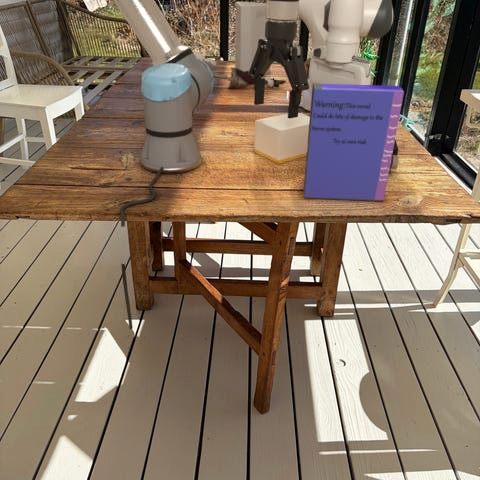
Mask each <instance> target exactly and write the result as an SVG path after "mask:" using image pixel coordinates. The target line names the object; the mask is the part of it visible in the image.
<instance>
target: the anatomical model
mask: <svg viewBox="0 0 480 480" xmlns="http://www.w3.org/2000/svg"><path fill="white" fill-rule="evenodd" d="M311 59H312V56H309V57H308V58H306V61H304V65H305V70H306V75H307V80H308V79H309V66H310V61H311Z"/></svg>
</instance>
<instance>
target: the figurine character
mask: <svg viewBox="0 0 480 480" xmlns="http://www.w3.org/2000/svg"><path fill="white" fill-rule="evenodd" d="M398 153H399V146H398V143H397V140H396V138H395V142H394V148H393V153H392V158H391V164H390V169H389V170H397V169H398V165H399V155H398ZM389 175H390V172H389V174H388V176H389Z"/></svg>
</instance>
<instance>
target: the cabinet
mask: <svg viewBox="0 0 480 480" xmlns="http://www.w3.org/2000/svg"><path fill="white" fill-rule="evenodd" d="M309 120H310V117H309V116H306V114H303V113H301V112H298V117H295V118H290V119H289V118H288V113H282V114H277V115H273V116H269V117H265V118H260V119H255V121H254V145H253V147H254V148H253V149H254V150H253V152H254V153H256V154H258V155H260V156H262V157H264V158H266V159H268V160H270V161H272V162H274V163H276V164H278V165H279V164H282V163H286V162H289V161H293V160H297V159H300V158H304V157H306V153H307V142H308V131H309Z"/></svg>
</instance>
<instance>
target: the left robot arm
mask: <svg viewBox="0 0 480 480" xmlns="http://www.w3.org/2000/svg"><path fill="white" fill-rule="evenodd" d="M113 2H114V3H115V5H116V6H117V8H118V10H119V11H120V13H121V14H122V15H123V17H124V19H125V20H126V22H127V23H128V25H129V27H130V28H131V30H132V31H133V33H134V34H135V36H136V37H137V39H138V41H139V42H140V43H141V45H142V47H143V48H144V50H145V51H146V53H147V55H148V56H149V57H150V59H151V61H153V63H154V66H153V65H152V66H150V67H148V68H146V69H145V70H144V71H143V72H142V74H141V79H140V80H141V85H140V91H141V95H142V97H141V98H142V106H143V115H144V125H145V126H144V127H145V138H144V142H143V146H142V150H141V154H140V162H141V166H142V168H144V169H145V170H146V171H149V172H151V173H156V174H155V176H154V177H153V179H152V180H151V182H150V183H149V185H148V191H149V192H150V193H151V196H150V197H148V198H145V199H139V200H134V201H129V202H127V203H125V204H123V205H122V206H121V207H120V208H119V213H120V227H121V228H123V227H125V225H126V215H125V212H124V211H125V209H127V208H128V207H131V206H134V205H140V204H146V203H149V202H152V201H154V199H155V198H156V192H155V190H154V189H153V186H154V184H155V183H156V181H157V180H158V179H159V177H160V175H161V174H163V175H164V174H165V175H169V174H170V175H172V174H173V175H175V174H182V173H187V172H190V171H193V170H195V169H197V168H198V167H199V166H201V163H202V155H201V151H200V149H199V146H198V143H197V141H196V137H195V135H194V130H193V129H194V126H193V111H195V110H196V109H197V108H199V107H200V106H202V105H203V104H205V103H206V102H207V101H208V99H209V98H210V97H211V95H212V93H213V90H214V87H215V80H214V79H215V78H213V75H214V74H213V72H212V69H211V68H210V66H209V65H208V63H207V62H203V61H201V60H199V59H197V58H196V56H195V55H194V53H195V52H194V51H193V50H192V48H191V47H190V46H187V45H183V44H182V43H181V41H180V40H179V38H178V37H177V35H176V33H175V32H174V30H173V29H172V27H171V25H170V24H169V22H168V20H167V18H166V17H165V15H164V14H163V12H162V10H161V9H160V7H159V5H158V4H157V2H156V1H155V0H113ZM265 3H266V18H267V19H268V21H266V23H265V37H266V38H265V39H259V41H258V48H257V51H256V54H255V56H254V59H253V62H252V65H251V67H250V70H249V74H250V75H253V78H254V85H253V90H254V98H253V105H254V106H258V105H264V104H265V92H266V91H265V89H266V86H265V79H266V78H265V75H266V74H267V73H266V72H267V70H268V69H269V67H270V68H271V66H272V64H273V63H274V62H275V63H277V64H278V65H279V64H280V66H281V67H282V68H283V70H284V72H285V74H286V77H287V79H288V82H289V85H290V87H291V90H290V91H289V95H288V109H287V114H288V118H289V119H290V118H295V117H298V113H299V109H300V106H299V105H300V103H301V100H302V95H303V90H308V89H309V84H308V80H307V75H306V70H305V65H304V62H305V61H304V57H303V56H304V48H303V46H301V45H300V46H299V45H298V46H294V41H295V40H296V38H297V32H298V23H297V20H298V18H299V16H298V9H299V0H266V2H265ZM255 68H256V69H255ZM265 73H266V74H265ZM120 265H121V276H122V285H123V292H124V299H125V306H126V313H127V320H128V328H129V330H133V329H134V328H133V318H132V311H131V304H130V297H129V289H128V283H127V272H126V264H125V263H123V262H122V263H120Z"/></svg>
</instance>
